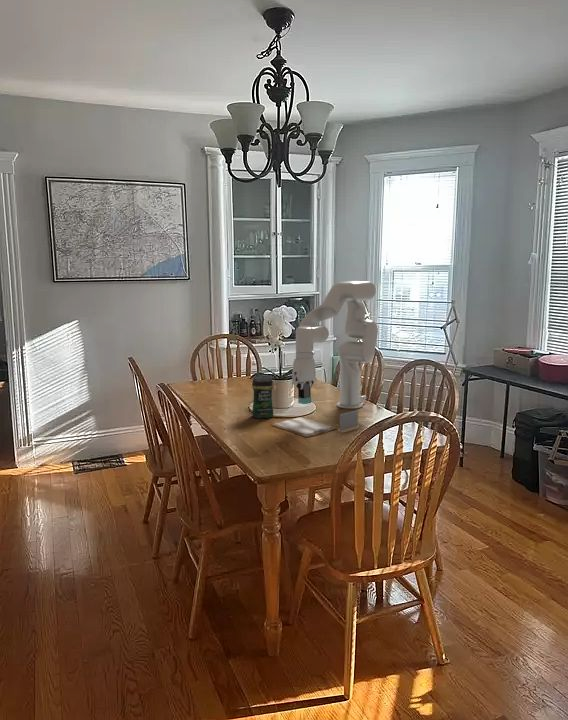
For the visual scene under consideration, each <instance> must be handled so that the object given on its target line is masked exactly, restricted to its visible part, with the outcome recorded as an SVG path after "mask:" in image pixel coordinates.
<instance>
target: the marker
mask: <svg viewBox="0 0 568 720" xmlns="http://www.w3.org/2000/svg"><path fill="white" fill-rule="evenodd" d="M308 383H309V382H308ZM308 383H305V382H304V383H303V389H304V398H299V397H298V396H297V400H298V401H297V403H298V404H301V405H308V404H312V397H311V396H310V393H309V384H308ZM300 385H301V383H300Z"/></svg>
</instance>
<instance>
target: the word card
mask: <svg viewBox="0 0 568 720" xmlns="http://www.w3.org/2000/svg"><path fill="white" fill-rule="evenodd" d="M360 427H361V426H360V425H359V410H358V409H356V410H353V411H352V410H351V411H347V412H344V413H340V414H339V428H337V432H339V433H342V434H343V433H346V432H347V433H348V432H350V431H355V430H358V429H361V428H360Z"/></svg>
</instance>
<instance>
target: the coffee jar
mask: <svg viewBox="0 0 568 720" xmlns="http://www.w3.org/2000/svg"><path fill="white" fill-rule="evenodd" d="M251 388H252V389H253V401H252V410H251V411H252V412H251V413H252V417H253V418H256V419H270V418H272V417H274V405H273V388H274V382H273V378H272V376H253V378H252V384H251Z"/></svg>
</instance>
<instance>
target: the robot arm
mask: <svg viewBox="0 0 568 720" xmlns="http://www.w3.org/2000/svg"><path fill="white" fill-rule="evenodd" d="M376 289H377V288H376V285H375V284H374V283H373V282H372V281H368V280H367V281H365V280H363V281H360V280H347V281H337V282H335V283H334V284H332V286H331V288H330V289H329V291H328V292H327V294H326V296H325V297H324V299H323V301H322V303H321V304H320V305H318V306H317V307H314V309H312V310H310V311H308V313H306V315H304V317H303V318H302V320H301V322H300V323H299V324H298V325H299V326H298V327H296V329H295V358H294V360H293V364H292V373H291V375H292V376H291V379H292V380H291V381H292V382H291V384H292V385H294V386H295V388H297V392H298V393H297V395H298V396H297V398H298V397H299V398H304V389H303V383H308V384H309V393H310V397H311V396H312V395H311V391H312V390H311V389H312V387H313V385H314V384H315V383H316V381H317V375H316V373H317V372H316V362H315V358H314V355H315V351H314V343H317V344H319V343H324V342H327V340H328V338H329V336H330V335H329V334H330V332H329V329H328V327H326V326H325V325H321V324H320V325H319V324H318V323H320V322H323V321H325V320H329V319H332V318H335V317H336V316H337V315H338V314H339V313H340V310H342V307H343V305H345V302H346V305H347V314H346V319H345V320H346V321H345V326H344V334H345V337H347V338H348V339H353V340H346V341H343V342H341V343H340V344H339V345H338V348H337V353H338V360H339V370H340V371H339V372H340V374H339V378H340V380H339V381H340V384H339V394H340V395H339V401H338V402H337V403H336V407H338V408H340V409H341V408H342V409H348V410H349V409H350V410H352V409H359V408H360V409H361V408H363V407H364V402H362V401H364V400H367V396H366V395H361V368H360V366H359V363H363V364H369V363H371V362H373V361H372V360H374V356H375V351H376V347H377V339H378V325H377V323H376V321H374V320H372V319H365V318H366V306H365V303H364V301H369V300H372V299H373V298H374V296H375V295H376V292H377V291H376ZM354 339H356V340H362V341H354ZM300 384H301V385H300Z"/></svg>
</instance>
